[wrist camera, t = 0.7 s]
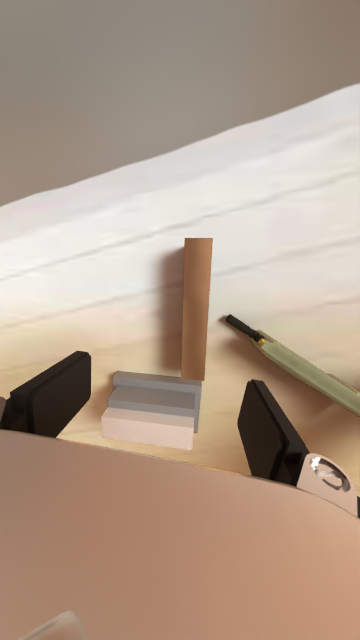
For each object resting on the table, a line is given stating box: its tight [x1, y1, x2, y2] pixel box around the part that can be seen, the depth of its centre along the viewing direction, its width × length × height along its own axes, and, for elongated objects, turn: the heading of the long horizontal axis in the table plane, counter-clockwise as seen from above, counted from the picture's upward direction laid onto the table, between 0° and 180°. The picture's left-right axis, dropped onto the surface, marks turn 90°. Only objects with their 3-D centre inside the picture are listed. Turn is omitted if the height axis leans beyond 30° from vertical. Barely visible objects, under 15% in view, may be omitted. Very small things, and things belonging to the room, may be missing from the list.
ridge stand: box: [101, 371, 202, 450], centre depth 30 cm, size 16×10×8 cm, turn 87°
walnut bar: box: [181, 238, 213, 381], centre depth 27 cm, size 4×20×6 cm, turn 179°
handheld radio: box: [226, 314, 360, 417], centre depth 27 cm, size 7×3×25 cm
